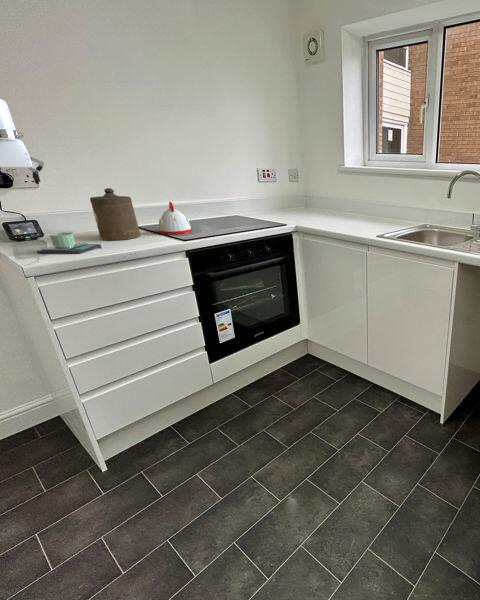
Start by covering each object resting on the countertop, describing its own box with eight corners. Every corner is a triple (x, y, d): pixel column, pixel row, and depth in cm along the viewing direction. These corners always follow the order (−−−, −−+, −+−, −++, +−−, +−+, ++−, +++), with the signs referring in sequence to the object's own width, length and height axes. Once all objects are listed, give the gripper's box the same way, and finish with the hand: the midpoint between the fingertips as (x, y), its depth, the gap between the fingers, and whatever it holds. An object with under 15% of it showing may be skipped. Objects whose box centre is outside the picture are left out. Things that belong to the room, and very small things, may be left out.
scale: (38, 257, 128) (36, 249, 127) (63, 249, 139) (61, 242, 138) (81, 257, 130) (78, 249, 129) (102, 250, 141) (100, 242, 140)
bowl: (49, 247, 130) (45, 235, 128) (62, 244, 136) (58, 232, 134) (68, 247, 131) (64, 235, 129) (81, 244, 137) (77, 232, 135)
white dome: (162, 235, 170) (155, 204, 164) (158, 231, 179) (151, 201, 174) (194, 233, 178) (188, 202, 172) (189, 229, 188) (183, 200, 182)
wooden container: (115, 234, 170) (102, 186, 162) (147, 234, 171) (136, 187, 163) (92, 240, 156) (77, 189, 148) (127, 241, 157) (114, 190, 149)
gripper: (33, 137, 138) (48, 183, 144) (-34, 133, 125) (-15, 184, 131) (37, 137, 133) (52, 184, 140) (-32, 133, 121) (-12, 185, 127)
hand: (20, 184), depth 135 cm, fingers open, 9 cm apart
